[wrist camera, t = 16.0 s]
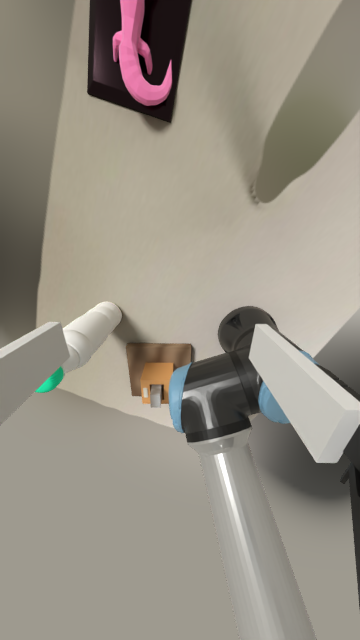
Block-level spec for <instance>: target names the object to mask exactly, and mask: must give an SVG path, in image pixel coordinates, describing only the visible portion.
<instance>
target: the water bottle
mask: <svg viewBox="0 0 360 640" xmlns="http://www.w3.org/2000/svg"><path fill="white" fill-rule="evenodd" d="M121 319H122V313H121V310H120V309H119V307H118V306H117V305H115V304H114V303H111V302H101V303H99V304H98V305H96V306H95V307H94V308H92V309H90V310H89V311H88V312H87V313H86V314H84V315H82V316H80V317H79V318H77V319H76V320H74V321H73V322H71V323H70V324H68V325H67V326H66V327H64V328H63V333H64V336H65V340H66V343H67V347H68V350H69V354H70V357H69V358H68V359H67V360H66V361H65V362H64V363H63V364H62V365H61V366H60V367H59V368H58V369H57V370H56V371H55V372H54V373H53V374H52V375H51V376H50V377H49V378H48V379H47V380H46V381H45V382H44V383H43V384H42V385H41V386H40V387H39V388H38V389H37V390H36V391H35V392H40V393H44V392H49V391H51V390H53V389H54V388H55V387H56V386H57V385H58V384H59V383H60V382H61V381H62V379H63V377H64V375H65V373H67V372H70V371H72V370H74V369H77V368H80V367H82V366H83V365H85V364H86V363H87V362H88V361H89V359H90V358H91V356H92V355H93V354H94V353H95V352H96V351H97V349H98V348H99V347H100V346H101V345H102V344H103V342H104V341H105V340H106V338H107V337H108V335H109V334H110V333H111V332H112V331H113V330H114V329H115V327H116V326H117V325H118V324H119V323H120V321H121Z"/></svg>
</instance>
